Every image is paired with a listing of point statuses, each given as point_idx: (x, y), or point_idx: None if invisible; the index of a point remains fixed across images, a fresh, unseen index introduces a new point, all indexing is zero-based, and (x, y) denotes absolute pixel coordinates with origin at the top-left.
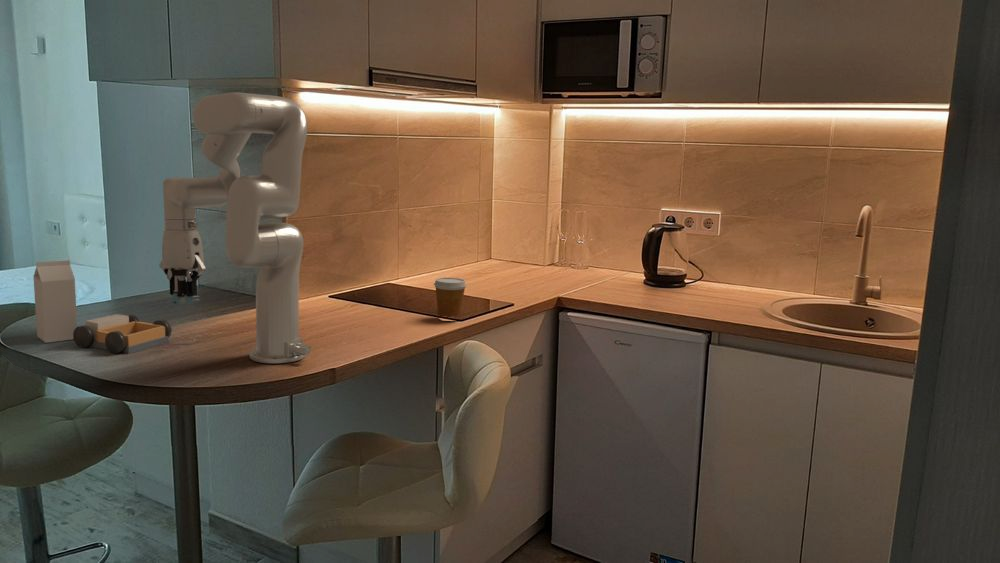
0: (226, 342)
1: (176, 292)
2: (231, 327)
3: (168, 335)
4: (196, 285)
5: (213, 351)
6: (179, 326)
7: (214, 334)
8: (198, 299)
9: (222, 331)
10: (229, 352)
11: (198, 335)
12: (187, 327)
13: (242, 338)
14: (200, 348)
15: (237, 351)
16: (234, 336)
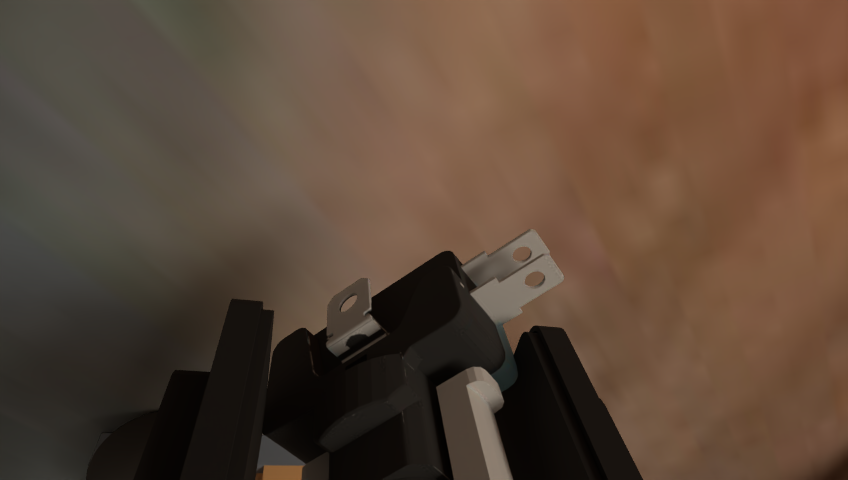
0: (752, 338)
1: (310, 430)
2: (706, 12)
3: None
4: (636, 471)
5: (725, 451)
6: (296, 148)
7: (642, 237)
8: (532, 242)
9: (670, 153)
10: (793, 437)
11: (557, 291)
12: (374, 151)
13: (826, 247)
14: (659, 445)
15: (824, 417)
16: (774, 229)
